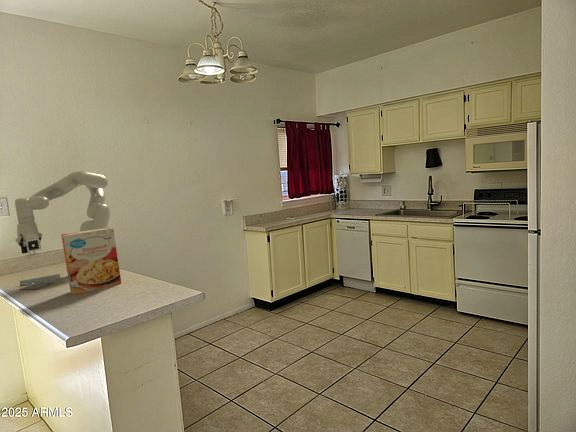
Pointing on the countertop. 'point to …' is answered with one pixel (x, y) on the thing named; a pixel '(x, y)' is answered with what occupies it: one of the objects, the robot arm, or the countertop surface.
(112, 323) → the countertop surface
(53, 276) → the low wall
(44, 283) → the mat
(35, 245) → the security camera
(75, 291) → the pasta box
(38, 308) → the countertop surface
